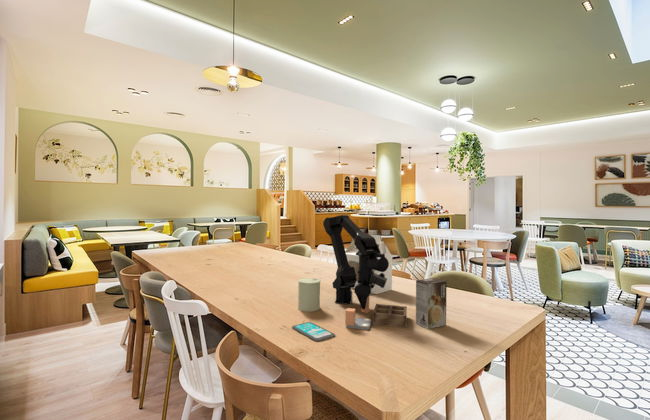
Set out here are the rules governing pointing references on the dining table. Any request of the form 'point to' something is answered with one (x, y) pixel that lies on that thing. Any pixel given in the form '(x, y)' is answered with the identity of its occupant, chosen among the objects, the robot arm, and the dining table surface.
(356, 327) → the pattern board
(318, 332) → the smartphone
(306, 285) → the can
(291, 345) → the dining table surface
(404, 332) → the dining table surface
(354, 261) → the gable box
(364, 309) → the peg
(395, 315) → the socket block
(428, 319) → the coffee box
